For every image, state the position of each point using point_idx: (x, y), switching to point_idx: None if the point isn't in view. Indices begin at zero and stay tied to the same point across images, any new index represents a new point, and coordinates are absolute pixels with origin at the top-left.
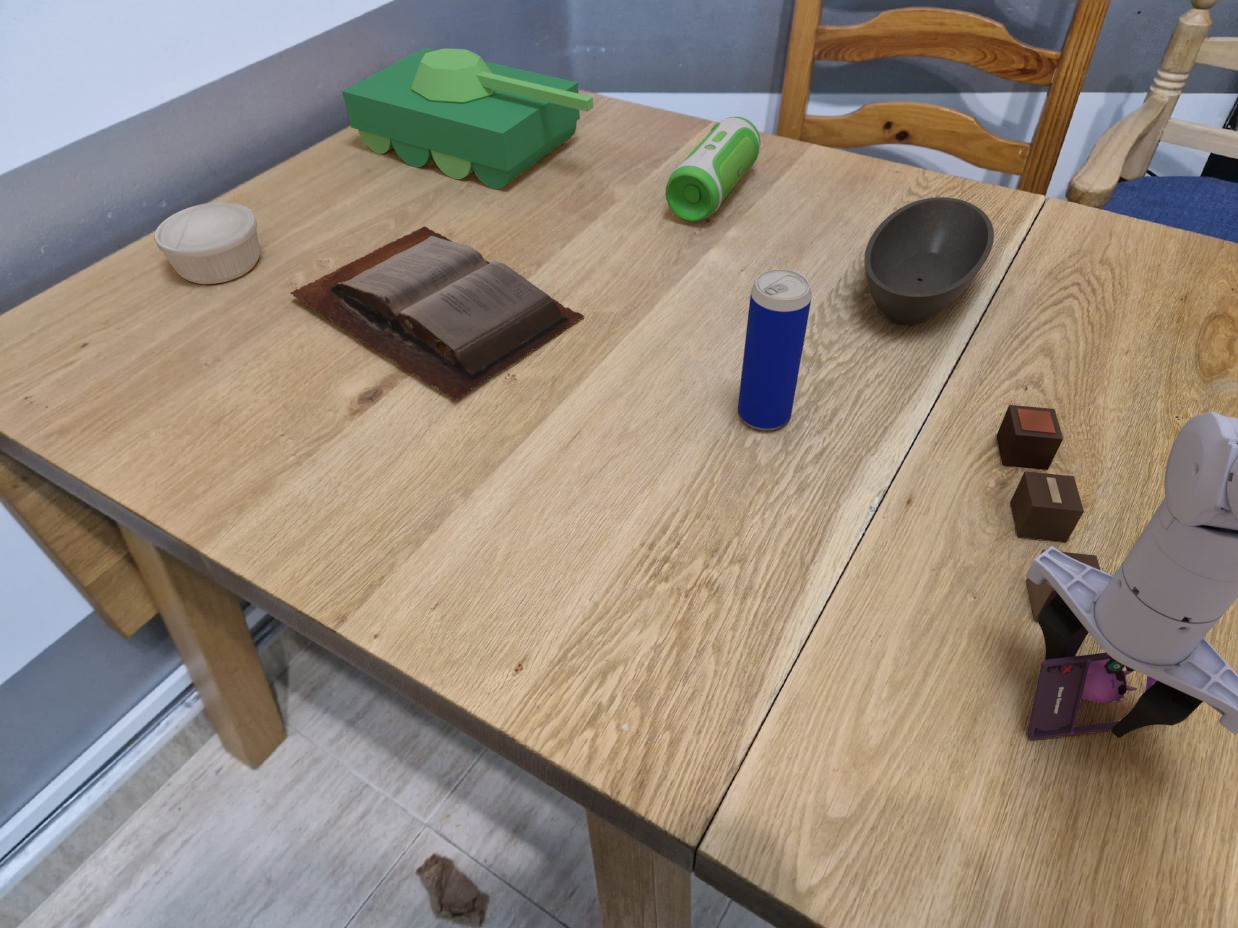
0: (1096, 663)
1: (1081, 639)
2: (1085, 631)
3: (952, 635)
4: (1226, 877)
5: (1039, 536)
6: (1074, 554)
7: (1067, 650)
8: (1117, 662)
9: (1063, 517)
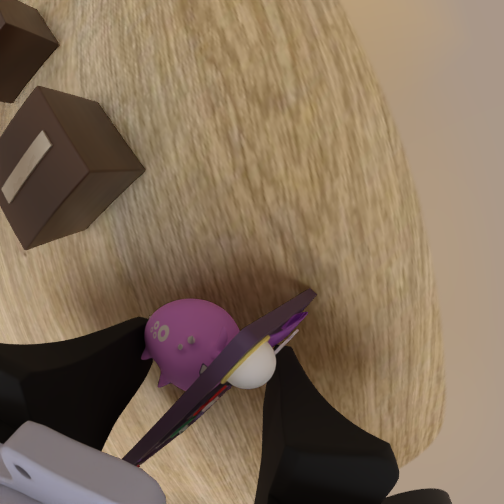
0: (164, 371)
1: (106, 367)
2: (87, 401)
3: (48, 333)
4: (443, 411)
5: (24, 78)
6: (11, 124)
7: (108, 413)
8: (177, 432)
9: (2, 50)
